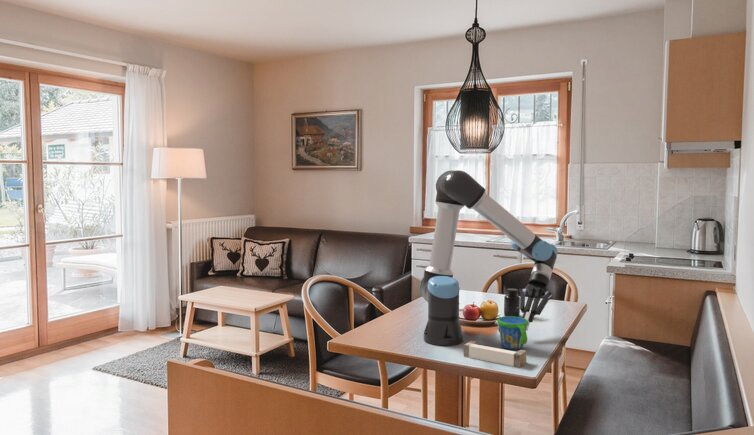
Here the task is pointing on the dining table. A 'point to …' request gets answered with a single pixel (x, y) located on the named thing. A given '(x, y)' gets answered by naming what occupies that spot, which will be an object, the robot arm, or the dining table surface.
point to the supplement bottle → (512, 303)
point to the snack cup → (512, 332)
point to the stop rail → (495, 354)
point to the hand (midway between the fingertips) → (524, 328)
